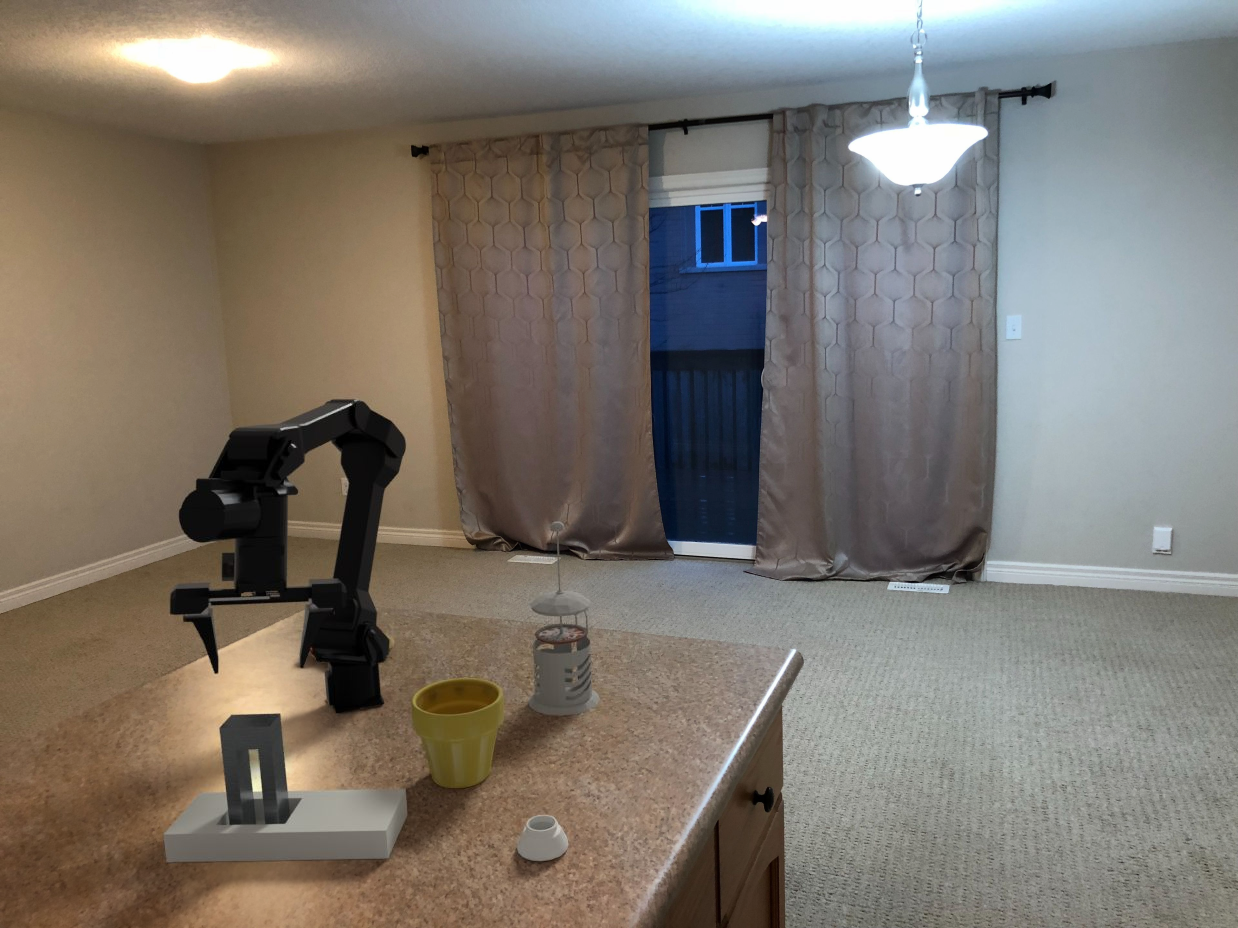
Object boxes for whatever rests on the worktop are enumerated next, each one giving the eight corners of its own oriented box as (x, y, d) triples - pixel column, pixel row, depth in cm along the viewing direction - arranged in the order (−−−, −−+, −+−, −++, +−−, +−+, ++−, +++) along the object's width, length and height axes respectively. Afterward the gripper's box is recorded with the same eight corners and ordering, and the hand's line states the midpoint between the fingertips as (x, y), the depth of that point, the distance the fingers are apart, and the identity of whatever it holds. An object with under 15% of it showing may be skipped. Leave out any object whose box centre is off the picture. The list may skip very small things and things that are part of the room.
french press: (515, 709, 126) (506, 527, 122) (553, 677, 137) (546, 508, 132) (582, 719, 122) (575, 532, 118) (615, 685, 133) (610, 512, 129)
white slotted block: (202, 818, 101) (200, 792, 100) (407, 814, 101) (405, 788, 100) (166, 862, 93) (163, 834, 93) (388, 858, 93) (386, 830, 92)
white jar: (520, 868, 91) (571, 860, 92) (519, 839, 90) (570, 832, 91) (515, 839, 96) (563, 832, 97) (513, 813, 95) (562, 806, 96)
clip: (242, 826, 98) (231, 714, 96) (290, 824, 98) (280, 713, 96) (231, 842, 95) (219, 727, 93) (280, 841, 95) (269, 726, 93)
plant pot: (509, 792, 105) (504, 709, 103) (414, 802, 103) (408, 718, 101) (504, 749, 115) (500, 673, 113) (418, 758, 113) (413, 681, 112)
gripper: (338, 528, 120) (336, 651, 120) (176, 531, 113) (175, 661, 113) (347, 536, 110) (346, 670, 110) (170, 539, 103) (168, 682, 103)
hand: (259, 670), depth 109 cm, fingers open, 9 cm apart
